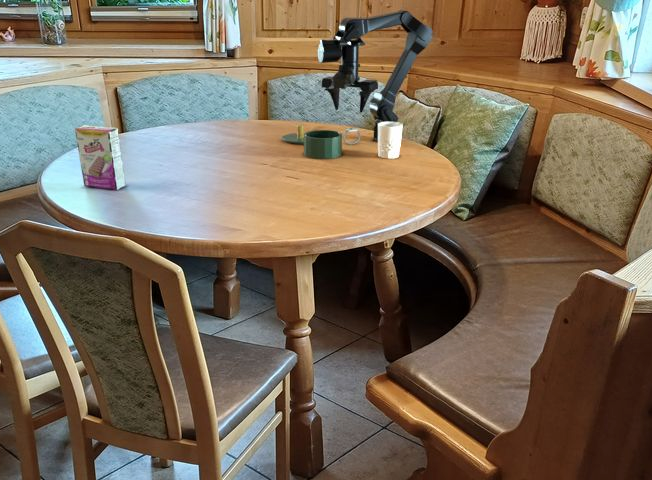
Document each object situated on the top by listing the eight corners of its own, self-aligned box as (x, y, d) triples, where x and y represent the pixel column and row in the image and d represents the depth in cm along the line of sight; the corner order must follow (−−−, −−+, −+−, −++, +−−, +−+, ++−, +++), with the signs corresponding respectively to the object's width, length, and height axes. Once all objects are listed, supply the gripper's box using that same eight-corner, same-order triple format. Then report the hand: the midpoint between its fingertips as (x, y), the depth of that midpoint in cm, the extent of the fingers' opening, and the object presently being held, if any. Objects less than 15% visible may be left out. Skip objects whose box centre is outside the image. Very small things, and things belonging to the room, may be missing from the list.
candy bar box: (83, 187, 208) (73, 128, 199) (93, 182, 212) (83, 124, 204) (117, 190, 205) (108, 131, 196) (126, 186, 209) (118, 127, 200)
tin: (347, 152, 240) (348, 132, 237) (330, 160, 231) (330, 140, 228) (315, 148, 245) (315, 128, 242) (297, 156, 236) (297, 136, 233)
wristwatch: (358, 142, 252) (358, 127, 249) (361, 144, 250) (361, 129, 247) (341, 143, 250) (341, 128, 248) (344, 145, 248) (344, 130, 245)
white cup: (373, 157, 234) (374, 125, 229) (380, 152, 240) (382, 120, 235) (396, 160, 231) (398, 127, 226) (403, 154, 237) (405, 122, 232)
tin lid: (325, 138, 257) (326, 123, 254) (307, 146, 247) (307, 131, 244) (293, 134, 262) (293, 120, 259) (274, 142, 252) (274, 127, 250)
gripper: (312, 62, 235) (313, 113, 243) (364, 66, 226) (363, 118, 235) (329, 58, 243) (329, 107, 251) (379, 61, 235) (377, 111, 243)
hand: (348, 111), depth 245 cm, fingers open, 9 cm apart
